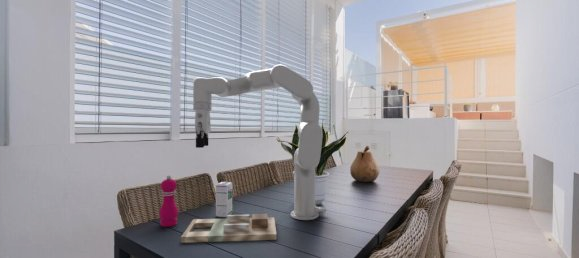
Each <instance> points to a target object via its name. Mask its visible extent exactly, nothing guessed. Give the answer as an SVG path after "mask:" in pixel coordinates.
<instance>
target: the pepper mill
mask: <svg viewBox="0 0 579 258" xmlns="http://www.w3.org/2000/svg"><path fill="white" fill-rule="evenodd" d="M177 183H178V182H177V181H176V180H175V179H172V175H170V174H168V175H167V176H166V179H163V181H162V182H161V183H160V188H161V190H162V191H161V193H162V194H161V195H162V196H163V201H162V205H161V207H160V209H159V211H158V212H159V215H158V217H159V218H160V227H165V228H167V227H173V226H176V225H177V223H178V218H177V217H178V215H179V208H178V207H177V204H176V201H175V195H176V188H177V186H178V184H177Z"/></svg>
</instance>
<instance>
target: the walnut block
mask: <svg viewBox="0 0 579 258" xmlns="http://www.w3.org/2000/svg"><path fill="white" fill-rule="evenodd" d="M268 217H269V216H268V213H252V214H251V218H252V229H253V228H268Z"/></svg>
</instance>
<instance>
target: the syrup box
mask: <svg viewBox="0 0 579 258" xmlns="http://www.w3.org/2000/svg"><path fill="white" fill-rule="evenodd" d="M233 191H234V190H233V181H221V182H218V183H216V184H215V216H216V217H218V218H220V217H221V218H227V215H233V213H234V205H233V203H234V200H233V198H234V197H233V193H234V192H233Z"/></svg>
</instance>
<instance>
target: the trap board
mask: <svg viewBox="0 0 579 258" xmlns="http://www.w3.org/2000/svg"><path fill="white" fill-rule="evenodd" d="M276 229H277V228H276V221H275V217H272V216H271V217H269V216H268V228H253V229H252V217H251V214H231V215H227V217H226V218H195V219H192V221H191V222H190V223H189V225H188V226H187V228H186V229H185V231H184V232H183V234H182V235H181V236H180V243H181V244H182V243H185V244H186V243H212V242H241V241H242V242H243V241H244V242H245V241H271V240H272V241H273V240H275V241H276V240H277V230H276Z"/></svg>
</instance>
